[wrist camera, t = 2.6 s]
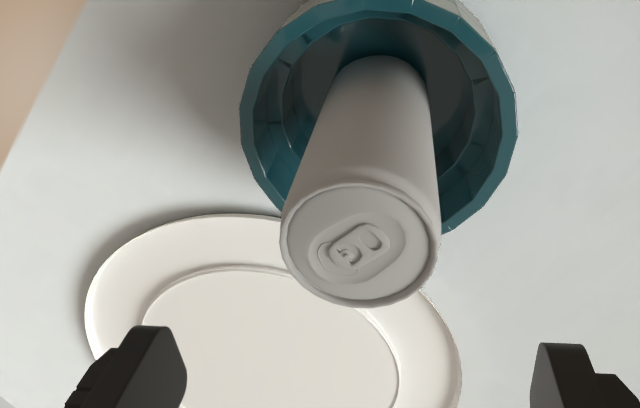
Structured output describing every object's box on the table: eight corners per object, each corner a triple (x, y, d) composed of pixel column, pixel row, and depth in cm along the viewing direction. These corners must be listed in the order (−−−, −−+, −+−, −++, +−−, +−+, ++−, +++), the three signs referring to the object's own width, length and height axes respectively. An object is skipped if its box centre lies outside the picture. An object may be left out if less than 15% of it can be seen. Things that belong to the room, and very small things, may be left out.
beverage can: (309, 94, 24) (240, 239, 14) (384, 27, 22) (364, 143, 12) (372, 160, 26) (350, 333, 16) (448, 104, 23) (479, 264, 13)
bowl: (227, 105, 25) (192, 147, 21) (369, -88, 20) (358, -83, 16) (384, 227, 28) (380, 285, 24) (549, 88, 22) (581, 132, 18)
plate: (240, 488, 47) (238, 496, 47) (16, 298, 37) (10, 305, 36) (524, 432, 36) (525, 441, 35) (321, 132, 25) (319, 138, 25)
